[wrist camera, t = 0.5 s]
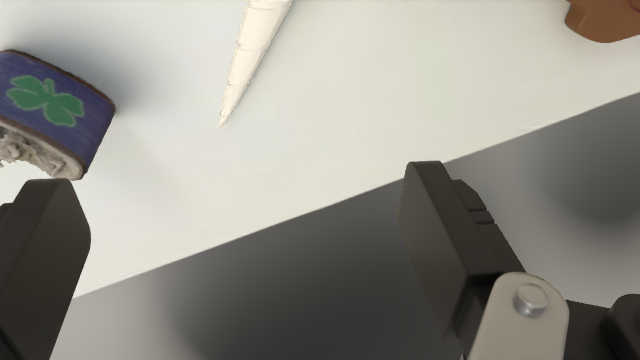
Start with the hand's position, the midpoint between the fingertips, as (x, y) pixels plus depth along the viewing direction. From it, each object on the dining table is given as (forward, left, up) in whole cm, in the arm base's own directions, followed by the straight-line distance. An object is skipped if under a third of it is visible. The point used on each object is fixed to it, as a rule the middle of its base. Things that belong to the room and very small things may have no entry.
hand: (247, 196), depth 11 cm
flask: (+9, -16, -28) cm, 33 cm away
